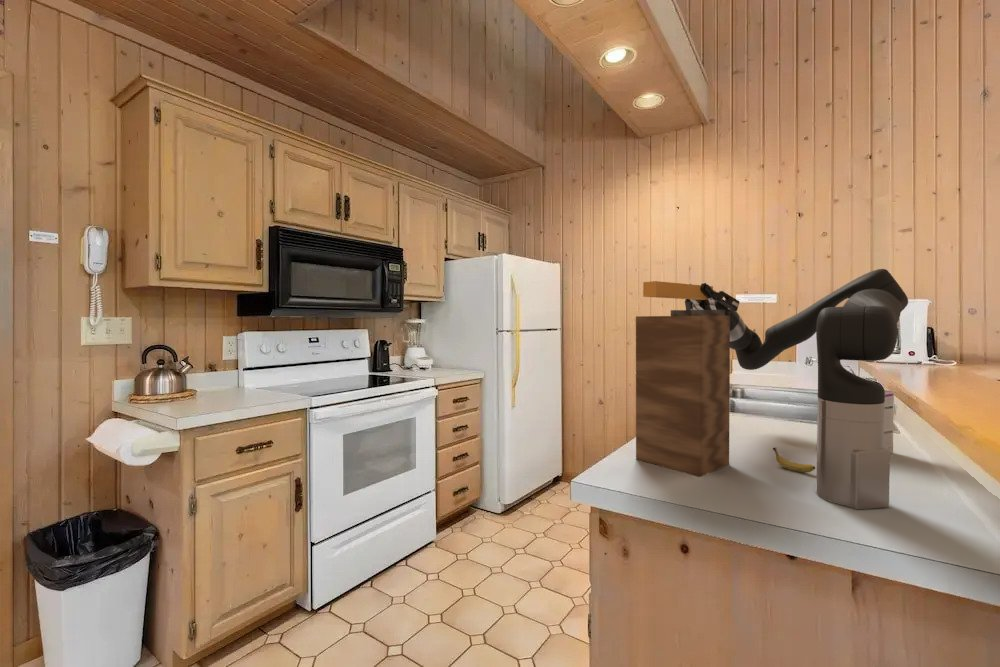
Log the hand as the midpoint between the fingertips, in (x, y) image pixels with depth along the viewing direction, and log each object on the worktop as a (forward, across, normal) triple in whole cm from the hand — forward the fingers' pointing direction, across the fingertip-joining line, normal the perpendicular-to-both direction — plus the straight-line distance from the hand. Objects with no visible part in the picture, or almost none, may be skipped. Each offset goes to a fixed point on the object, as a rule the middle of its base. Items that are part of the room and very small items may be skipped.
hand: (694, 286), depth 113 cm
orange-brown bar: (+4, 0, -6) cm, 7 cm away
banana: (-19, -22, -34) cm, 45 cm away
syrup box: (-44, -28, -20) cm, 56 cm away
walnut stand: (-8, -5, -41) cm, 42 cm away
